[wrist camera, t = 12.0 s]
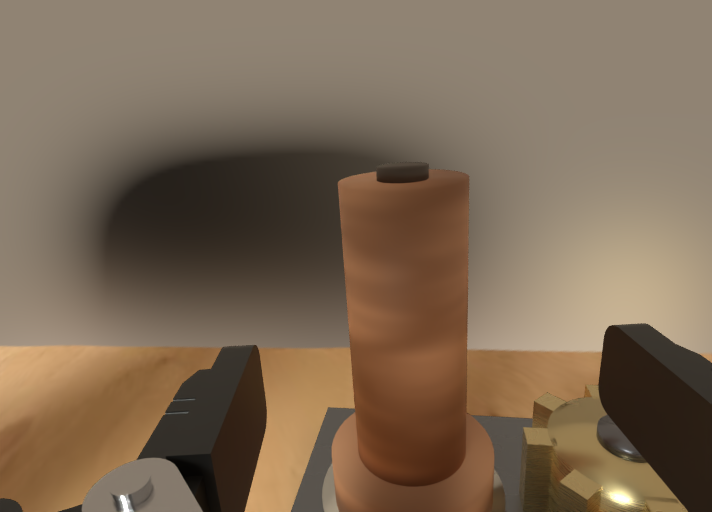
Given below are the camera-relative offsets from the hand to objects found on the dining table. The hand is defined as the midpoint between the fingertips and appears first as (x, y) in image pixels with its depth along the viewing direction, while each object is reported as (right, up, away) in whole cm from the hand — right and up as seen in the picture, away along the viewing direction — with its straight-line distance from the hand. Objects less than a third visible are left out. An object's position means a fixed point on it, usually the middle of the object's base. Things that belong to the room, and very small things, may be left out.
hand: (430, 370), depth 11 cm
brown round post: (0, -6, +7) cm, 10 cm away
